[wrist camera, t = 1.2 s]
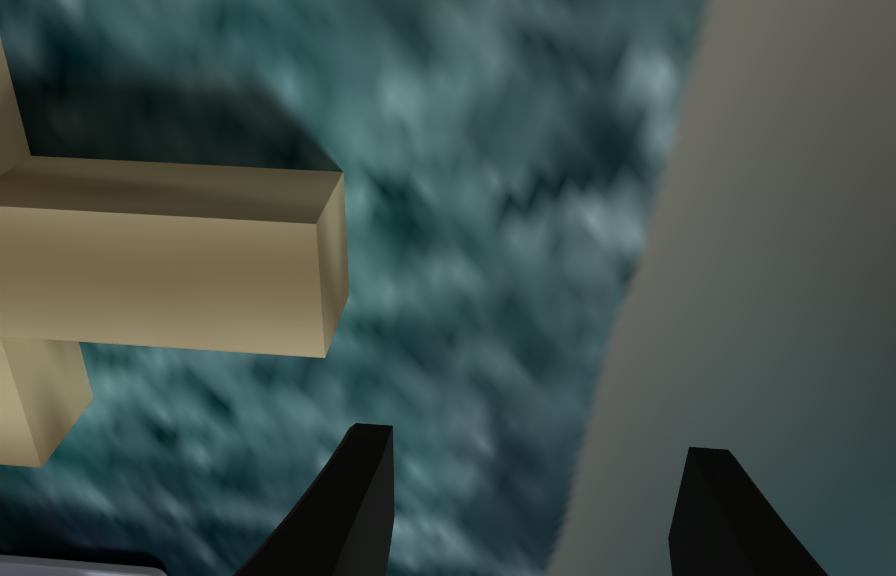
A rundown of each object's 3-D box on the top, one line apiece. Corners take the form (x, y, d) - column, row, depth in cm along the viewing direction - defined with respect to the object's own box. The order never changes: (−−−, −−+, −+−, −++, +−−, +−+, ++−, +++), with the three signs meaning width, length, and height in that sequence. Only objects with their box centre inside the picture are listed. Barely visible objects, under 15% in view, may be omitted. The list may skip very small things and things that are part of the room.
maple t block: (355, 417, 24) (334, 490, 21) (-18, 390, 24) (-83, 457, 22) (334, -10, 17) (301, 19, 15) (-162, -29, 18) (-276, -4, 16)
